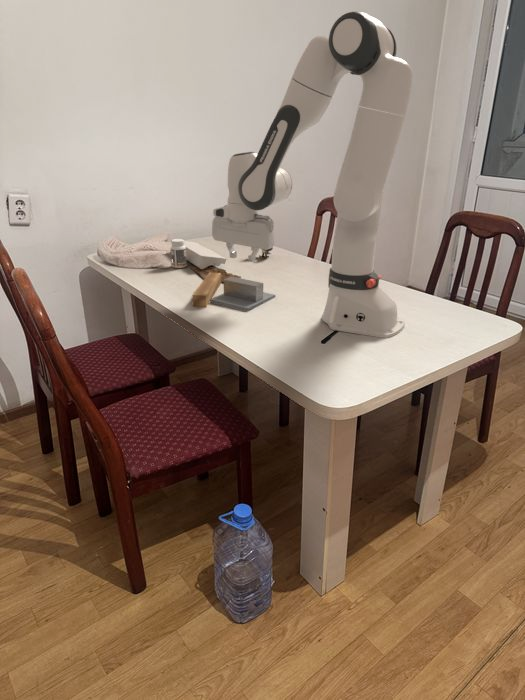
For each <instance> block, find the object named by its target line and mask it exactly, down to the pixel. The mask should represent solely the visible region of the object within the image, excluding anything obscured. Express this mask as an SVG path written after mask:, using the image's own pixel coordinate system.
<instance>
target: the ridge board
mask: <svg viewBox="0 0 525 700" xmlns="http://www.w3.org/2000/svg"><path fill="white" fill-rule="evenodd" d="M275 298H276V294H274V293H269V292H265V291H264V283H263V282H260V281H255V280H250V279H245V278H242V277H241V278H237V277H232V276H231V277H228V278H226V279H224V282H223V293H221V294H219V295H216V296H213V297H212V299H210V302H209V304H214V305H218V306H222V307H227V308H231V309H235V310H240V311H244V312H250V311H252V310H254V309H255V308H258V307H260V306H262V305H263V304H266V303H267V302H269V301H271V300H273V299H275Z"/></svg>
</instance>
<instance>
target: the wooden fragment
mask: <svg viewBox="0 0 525 700" xmlns="http://www.w3.org/2000/svg"><path fill="white" fill-rule="evenodd" d="M191 269H192V270H193V271H194V272H195V273H196V274H198V275H199V276H200V277H201V279H203V280H204V279H205V278H206V276H207V275H208V274H209V272H210V273H221V283H224V279H226V278H228V277H231V276H232V277H237V278H241V279H242V276H240V275H236V274H233V273H228V272H227V270H226V269H224V268H217V266H215V267H214V266H213V267H212V266H208V267H206V268H204V269H200V268H199V267H197V266H194V267H193V266H192V267H191Z"/></svg>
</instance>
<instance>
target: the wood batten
mask: <svg viewBox="0 0 525 700" xmlns="http://www.w3.org/2000/svg"><path fill="white" fill-rule="evenodd" d="M221 284H222V282H221V273H210V272H209V274H208V275H207V276H206V278H205V279H203V280H202V282H201V283H200V284H199V286H198V287H197V288H196V290H195V291H194V292H193V293H192V298H191V299H192V307H193V308H207V307H208V306H209V304H210V299H212V298H214V297H215V294H216V292H218V289H219V287H220V286H221Z"/></svg>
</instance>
